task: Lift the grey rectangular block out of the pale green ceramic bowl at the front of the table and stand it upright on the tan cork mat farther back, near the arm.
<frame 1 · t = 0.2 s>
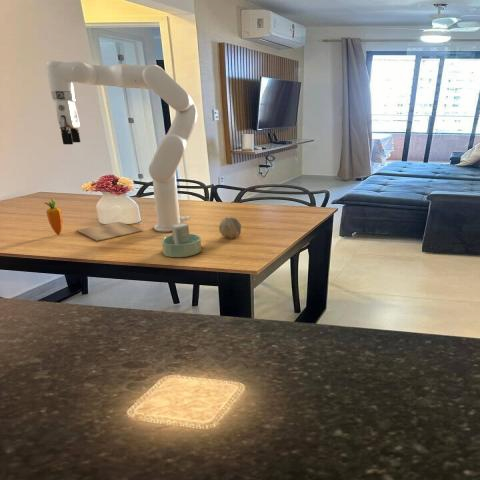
hand: (72, 143, 150), 37 cm above the table, tool pointing down, fingers open, 9 cm apart
bowl: (182, 251, 143), on the table
carrot: (58, 235, 159), on the table
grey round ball: (229, 237, 161), on the table
mat: (109, 231, 164), on the table
grey rectangular block: (182, 251, 143), resting on bowl
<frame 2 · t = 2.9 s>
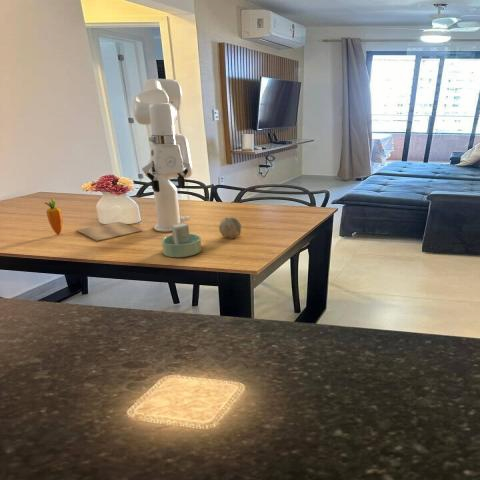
hand: (169, 189, 137), 23 cm above the table, tool pointing down, fingers open, 9 cm apart
nothing on the table moved.
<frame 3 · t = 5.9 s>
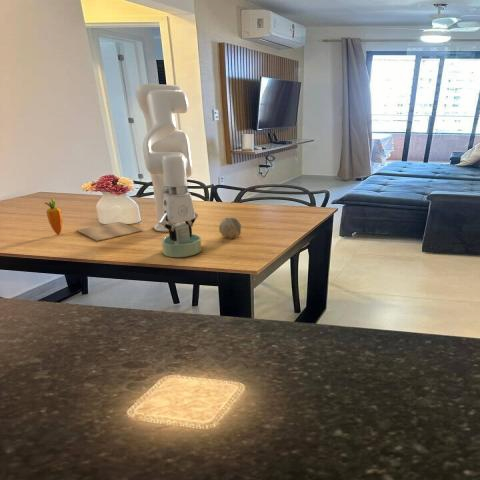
hand: (181, 237, 141), 5 cm above the table, tool pointing down, fingers closed on grey rectangular block, 5 cm apart
grey rectangular block: (182, 251, 143), resting on bowl, touching gripper
everything else where it was.
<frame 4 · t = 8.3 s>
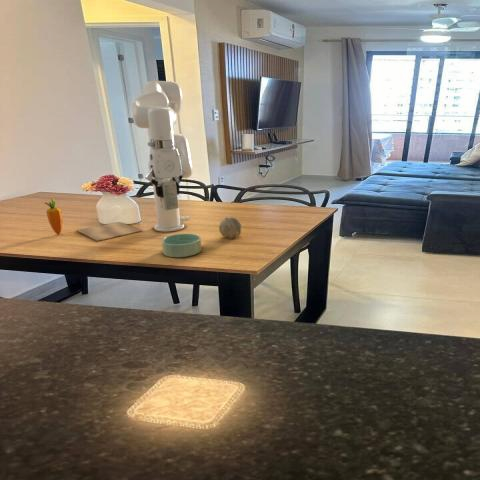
hand: (168, 195, 139), 21 cm above the table, tool pointing down, fingers closed on grey rectangular block, 5 cm apart
grey rectangular block: (169, 208, 141), point 16 cm above the table, touching gripper
everything else where it was.
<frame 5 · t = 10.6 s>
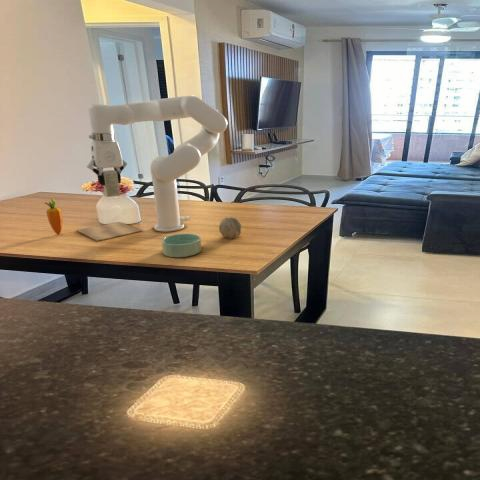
hand: (110, 183, 154), 22 cm above the table, tool pointing down, fingers closed on grey rectangular block, 5 cm apart
grey rectangular block: (111, 196, 156), point 16 cm above the table, touching gripper
everything else where it was.
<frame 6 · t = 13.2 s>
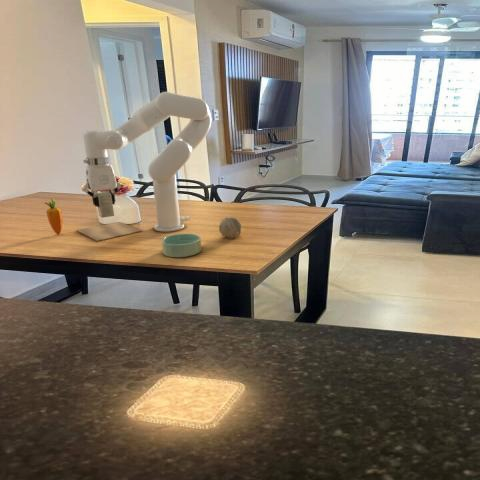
hand: (104, 204, 161), 12 cm above the table, tool pointing down, fingers closed on grey rectangular block, 5 cm apart
grey rectangular block: (106, 216, 162), point 7 cm above the table, touching gripper
everything else where it was.
when the fingers open (5 cm above the table, at t = 15.2 s): grey rectangular block stays where it is, resting on mat.
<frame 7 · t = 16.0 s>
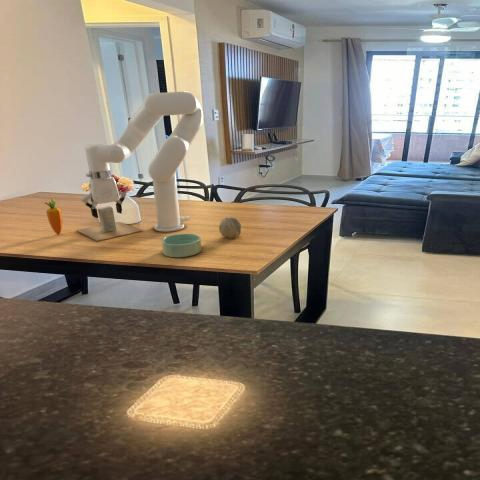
hand: (107, 215, 162), 7 cm above the table, tool pointing down, fingers open, 9 cm apart
grey rectangular block: (108, 230, 164), resting on mat
everything else where it was.
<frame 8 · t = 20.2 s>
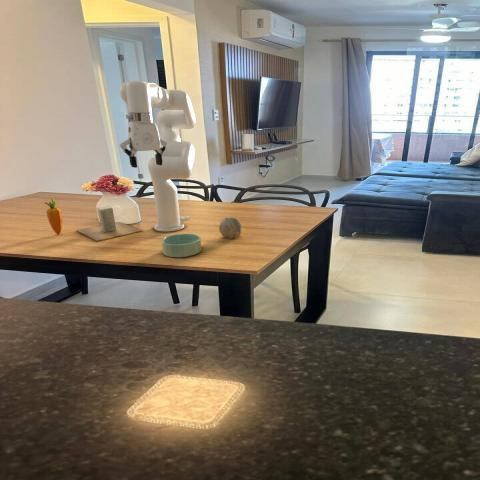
hand: (147, 166, 143), 30 cm above the table, tool pointing down, fingers open, 9 cm apart
nothing on the table moved.
at the end: grey rectangular block inside the target area on the mat (0.1 cm from its centre), point 0.2 cm above the mat's base; grey rectangular block tilted 0°; grey rectangular block touching mat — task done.
